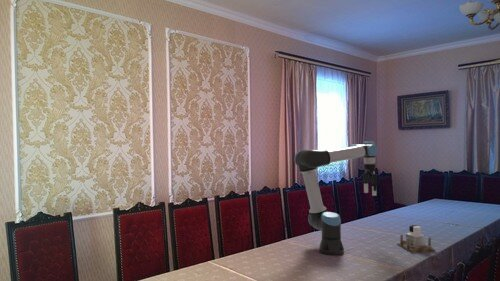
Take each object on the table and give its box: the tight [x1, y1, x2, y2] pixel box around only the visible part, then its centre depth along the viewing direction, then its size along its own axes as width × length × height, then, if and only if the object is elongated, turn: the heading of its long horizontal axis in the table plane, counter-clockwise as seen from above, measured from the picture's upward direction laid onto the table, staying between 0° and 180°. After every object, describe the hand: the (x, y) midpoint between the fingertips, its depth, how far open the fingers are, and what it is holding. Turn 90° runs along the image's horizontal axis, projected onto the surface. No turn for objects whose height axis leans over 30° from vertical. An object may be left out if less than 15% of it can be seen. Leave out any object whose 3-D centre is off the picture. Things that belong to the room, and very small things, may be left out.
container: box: [405, 224, 426, 247], centre depth 220 cm, size 8×8×13 cm
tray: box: [396, 233, 436, 253], centre depth 219 cm, size 16×16×8 cm
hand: (370, 194), depth 239 cm, fingers open, 13 cm apart
